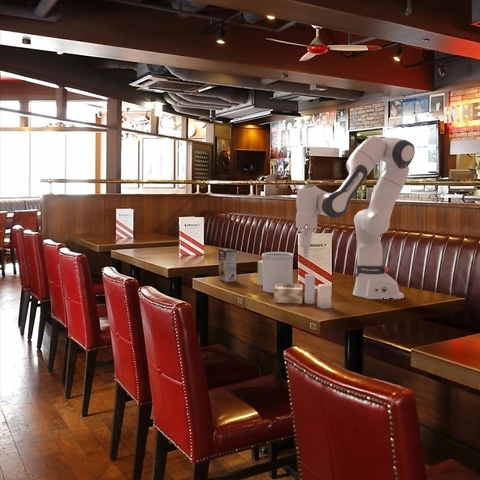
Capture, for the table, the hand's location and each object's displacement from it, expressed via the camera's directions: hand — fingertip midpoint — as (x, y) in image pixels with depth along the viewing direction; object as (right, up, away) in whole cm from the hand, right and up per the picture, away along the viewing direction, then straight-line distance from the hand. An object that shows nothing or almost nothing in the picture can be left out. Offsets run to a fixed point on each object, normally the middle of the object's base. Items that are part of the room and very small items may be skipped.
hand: (306, 255), depth 234 cm
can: (-15, -16, +42) cm, 47 cm away
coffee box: (-35, -14, +52) cm, 64 cm away
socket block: (-7, -19, +6) cm, 21 cm away
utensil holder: (-11, -17, +26) cm, 33 cm away
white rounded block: (+7, -21, -7) cm, 23 cm away
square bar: (+2, -20, +1) cm, 20 cm away
